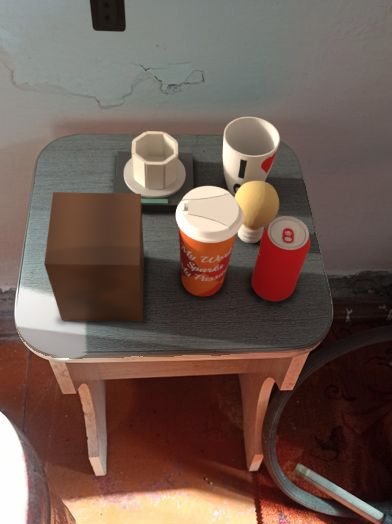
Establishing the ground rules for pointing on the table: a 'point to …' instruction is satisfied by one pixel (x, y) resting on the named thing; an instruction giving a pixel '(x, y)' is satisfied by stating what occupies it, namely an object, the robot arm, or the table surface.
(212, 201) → the coffee cup
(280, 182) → the table surface
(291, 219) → the beverage can
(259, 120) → the cup
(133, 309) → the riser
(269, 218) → the light bulb
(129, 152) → the scale
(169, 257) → the table surface
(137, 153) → the bowl
